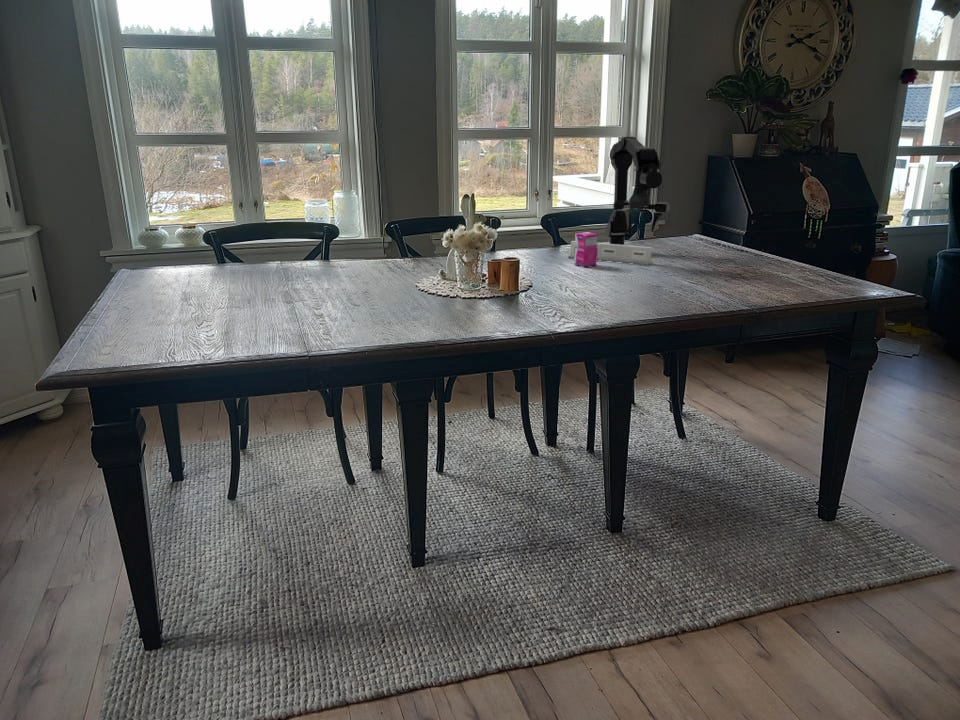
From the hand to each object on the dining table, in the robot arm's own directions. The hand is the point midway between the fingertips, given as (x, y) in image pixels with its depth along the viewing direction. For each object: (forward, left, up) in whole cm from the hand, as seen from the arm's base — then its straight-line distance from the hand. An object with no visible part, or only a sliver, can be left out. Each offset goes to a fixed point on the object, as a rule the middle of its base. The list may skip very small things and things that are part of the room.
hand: (639, 230), depth 255 cm
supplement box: (+11, -16, -12) cm, 23 cm away
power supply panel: (-2, -11, -12) cm, 16 cm away
